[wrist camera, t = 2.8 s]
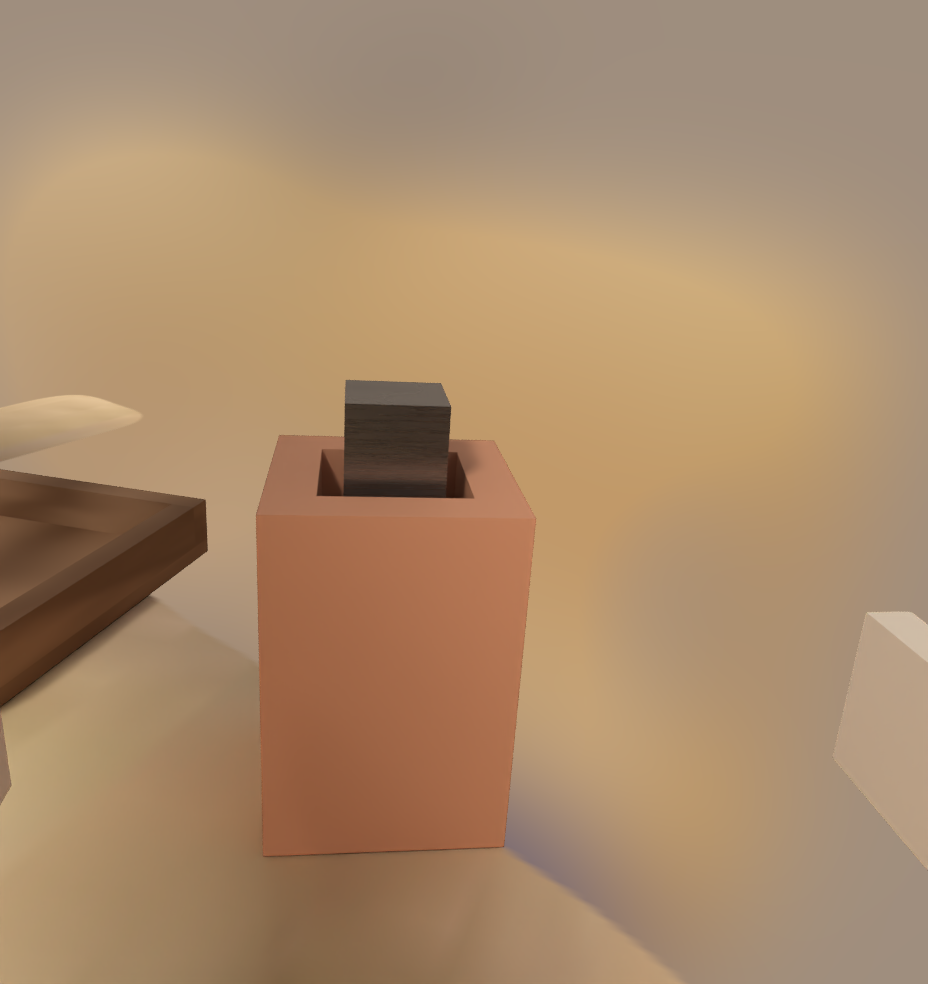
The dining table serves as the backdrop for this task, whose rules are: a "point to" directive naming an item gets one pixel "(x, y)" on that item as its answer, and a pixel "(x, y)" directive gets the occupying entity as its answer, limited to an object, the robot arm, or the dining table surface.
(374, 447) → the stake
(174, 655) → the dining table surface
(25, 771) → the dining table surface
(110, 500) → the tray
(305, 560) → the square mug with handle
